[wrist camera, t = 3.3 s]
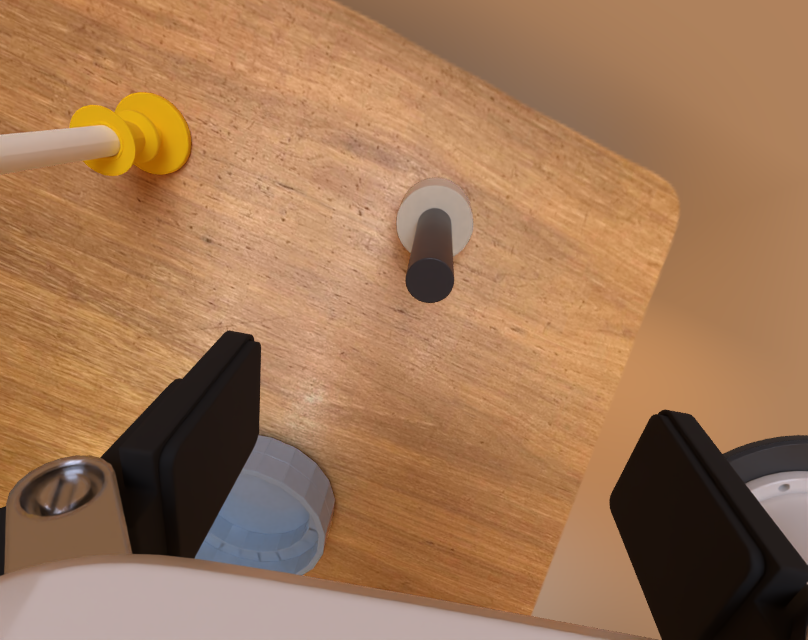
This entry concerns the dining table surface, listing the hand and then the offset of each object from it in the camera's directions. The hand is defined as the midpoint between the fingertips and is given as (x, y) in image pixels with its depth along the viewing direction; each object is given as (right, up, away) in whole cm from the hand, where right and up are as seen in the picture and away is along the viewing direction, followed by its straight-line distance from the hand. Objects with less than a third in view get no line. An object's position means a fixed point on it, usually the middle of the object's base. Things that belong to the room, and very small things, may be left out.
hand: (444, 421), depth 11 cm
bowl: (-15, -14, +35) cm, 41 cm away
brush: (+1, +10, +21) cm, 24 cm away
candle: (-18, +15, +21) cm, 32 cm away
